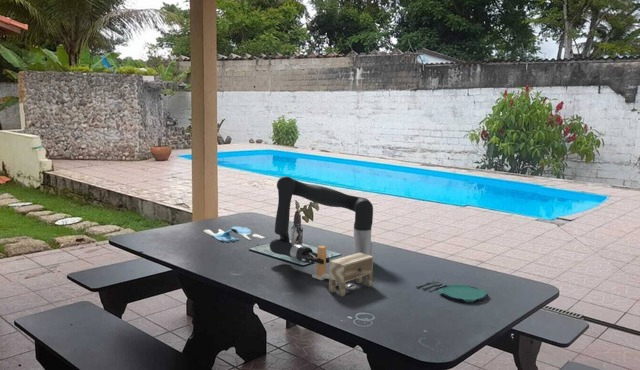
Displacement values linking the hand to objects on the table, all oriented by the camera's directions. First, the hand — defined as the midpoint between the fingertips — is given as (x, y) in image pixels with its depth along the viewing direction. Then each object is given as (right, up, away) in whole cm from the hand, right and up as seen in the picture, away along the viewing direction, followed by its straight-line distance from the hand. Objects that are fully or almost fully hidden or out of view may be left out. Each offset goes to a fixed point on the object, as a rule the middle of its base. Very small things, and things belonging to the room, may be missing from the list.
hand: (325, 261), depth 253 cm
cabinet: (+11, -11, -10) cm, 18 cm away
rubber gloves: (-56, +4, +80) cm, 97 cm away
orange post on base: (+1, -9, 0) cm, 9 cm away
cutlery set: (+57, -13, -11) cm, 59 cm away
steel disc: (+11, -11, -10) cm, 18 cm away
